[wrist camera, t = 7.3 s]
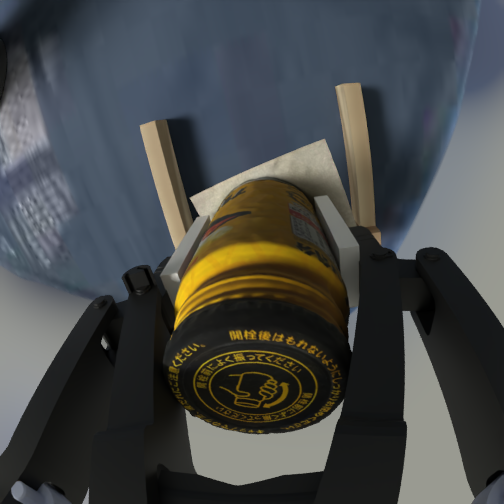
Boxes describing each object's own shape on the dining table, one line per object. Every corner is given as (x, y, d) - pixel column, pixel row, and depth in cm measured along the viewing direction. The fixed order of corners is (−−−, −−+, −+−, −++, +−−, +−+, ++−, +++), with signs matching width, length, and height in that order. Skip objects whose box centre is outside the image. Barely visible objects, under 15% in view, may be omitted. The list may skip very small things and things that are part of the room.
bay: (189, 256, 31) (178, 278, 27) (152, 123, 25) (132, 126, 21) (366, 228, 29) (380, 247, 25) (350, 85, 22) (365, 81, 18)
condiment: (190, 196, 17) (81, 333, 6) (324, 138, 15) (437, 200, 4) (243, 291, 20) (219, 459, 9) (362, 247, 18) (442, 403, 7)
